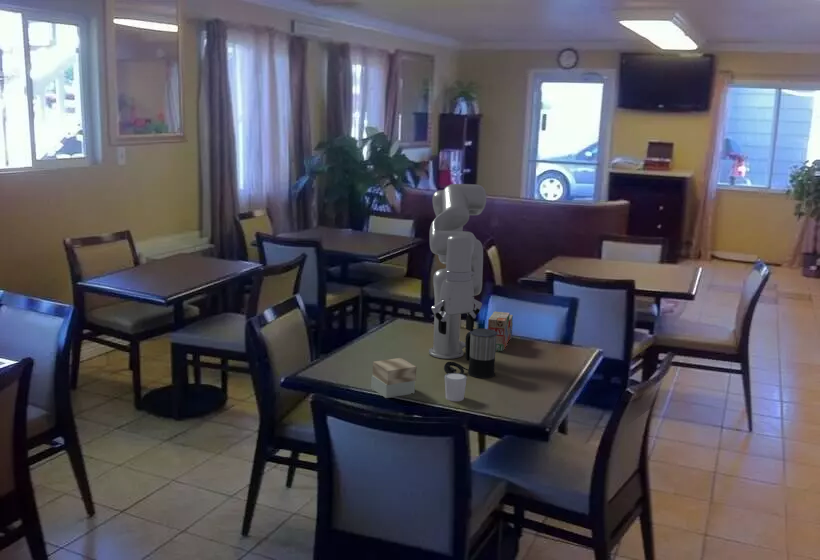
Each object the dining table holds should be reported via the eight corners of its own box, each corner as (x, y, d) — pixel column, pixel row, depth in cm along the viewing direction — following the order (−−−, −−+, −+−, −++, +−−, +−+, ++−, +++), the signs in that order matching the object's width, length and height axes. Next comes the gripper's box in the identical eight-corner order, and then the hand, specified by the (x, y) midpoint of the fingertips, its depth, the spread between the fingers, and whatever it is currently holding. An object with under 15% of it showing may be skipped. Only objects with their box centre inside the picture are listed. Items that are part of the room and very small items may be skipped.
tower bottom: (398, 384, 255) (399, 371, 254) (414, 394, 247) (414, 380, 246) (371, 388, 250) (371, 375, 249) (386, 398, 242) (386, 384, 241)
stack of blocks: (496, 336, 315) (498, 305, 312) (512, 337, 313) (513, 307, 311) (486, 350, 295) (488, 318, 292) (503, 352, 293) (505, 320, 290)
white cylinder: (464, 402, 240) (465, 380, 238) (441, 400, 241) (442, 378, 240) (467, 395, 246) (468, 373, 245) (445, 393, 248) (446, 371, 246)
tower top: (400, 371, 254) (400, 357, 253) (416, 380, 246) (416, 366, 245) (372, 375, 249) (372, 361, 248) (387, 385, 241) (387, 370, 240)
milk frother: (500, 374, 267) (503, 332, 264) (470, 385, 256) (472, 340, 253) (468, 364, 277) (470, 323, 274) (438, 374, 266) (439, 331, 263)
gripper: (475, 272, 244) (473, 326, 247) (426, 276, 235) (425, 331, 239) (489, 276, 237) (486, 331, 241) (439, 280, 229) (437, 337, 232)
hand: (456, 331), depth 240 cm, fingers open, 9 cm apart
